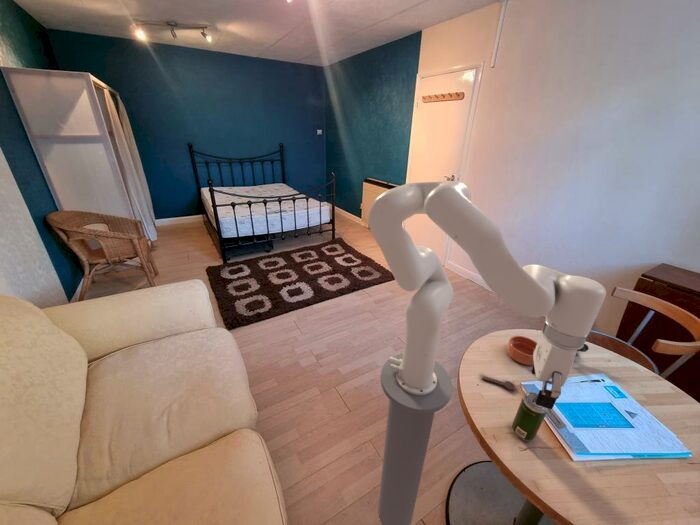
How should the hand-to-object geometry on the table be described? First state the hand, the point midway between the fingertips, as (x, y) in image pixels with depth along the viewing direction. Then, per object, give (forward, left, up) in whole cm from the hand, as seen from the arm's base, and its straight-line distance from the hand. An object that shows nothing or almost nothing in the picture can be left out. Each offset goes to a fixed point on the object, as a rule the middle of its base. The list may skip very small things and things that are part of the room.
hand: (540, 389), depth 67 cm
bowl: (+2, +31, -16) cm, 35 cm away
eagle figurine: (+16, +38, -16) cm, 44 cm away
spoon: (-6, +14, -16) cm, 22 cm away
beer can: (0, 0, -16) cm, 16 cm away
